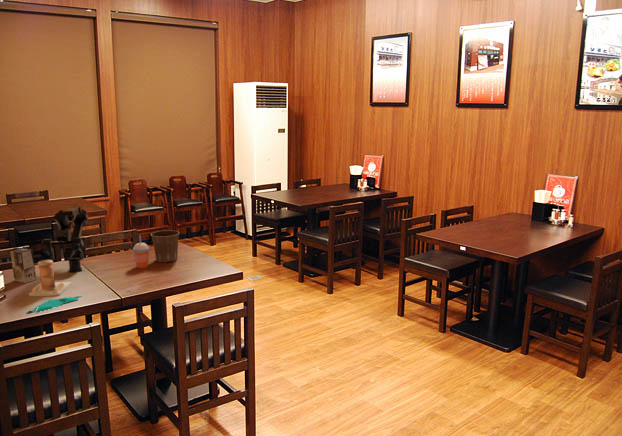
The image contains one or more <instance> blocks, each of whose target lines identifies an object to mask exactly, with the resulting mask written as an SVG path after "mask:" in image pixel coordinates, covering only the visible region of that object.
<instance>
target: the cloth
mask: <svg viewBox="0 0 622 436" xmlns="http://www.w3.org/2000/svg"><path fill="white" fill-rule="evenodd" d="M79 298H83V296H81V295H78V296H69V297H66V296H65V297H61V298H55V299H49V300H47V301H44V302H43V303H41V304H40V305H37V306H36V307H35V308H33V309H32V310H28V311H26V314H25V315H28V314H29V313H30V311H31V312H32V313H36V312H35V311H36V309H37V307H39V308H38V310H37V312H38V313H41V312H40V311H42V312H44V310H46V311H49V310H48V309H50V310H53V309H54V308H53V307H57V308H59V307H60V306H62V305H63V304H66V303H72V302H74V301H79ZM58 306H59V307H58ZM52 308H53V309H52Z"/></svg>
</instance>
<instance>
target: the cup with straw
mask: <svg viewBox="0 0 622 436" xmlns="http://www.w3.org/2000/svg"><path fill="white" fill-rule="evenodd" d="M138 237H139V242H138V243H135V245H134V246H133V248H132V252H133V256H134V262H135V265H136V266H135V267H136V268H138V269H144V268H145V269H146V268H148V266H149V259H150V257H149V256H150V255H149V254H150V253H149V252H150V247H149V246H148V244H146V242H142V235H139V236H138Z"/></svg>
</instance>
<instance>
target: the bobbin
mask: <svg viewBox="0 0 622 436" xmlns="http://www.w3.org/2000/svg"><path fill="white" fill-rule="evenodd" d="M53 264H54V260H52V259H42V260H39V261H37V266H38V269H39V278H40V283H41V287H42V288H41V291H43V292H48V291H53V290H55V289H54V288H55V287H56V286H55V282H56V281H55V274H54V267H53V266H54V265H53Z"/></svg>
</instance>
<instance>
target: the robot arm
mask: <svg viewBox="0 0 622 436" xmlns="http://www.w3.org/2000/svg"><path fill="white" fill-rule="evenodd" d="M53 218H54V220H55V222H56V225H57V226H58V229H56V230H53V237H54V239H55V240H56V241H52V239H51V238H45V239H43V240H42V241H41V245H42V247H43V249H45V250H46V251H47V252H48V253H49V258H50V260H52V258H53V256H54V251H55V249H54V248H55V247H54V246H64V249H63V258H64V261H65V262H68V266H69V268H68V273H75V272H82V271H83V269H82V266H81V261H82V260H84V259H85V257H84V252H83V250H82V249H81V248H84V245H85V243H84V241H83V239H82V232H83V229H84V227H85V226H86V225H87V224H88V222H89V215H88V212H87V211H86V210H84V209H83V207H82V206H80V205H78V206H77V205H76V206H71V207H70V208H69V209H67V210H63V209H60V210H58V212H57V213H55V214H54V216H53Z"/></svg>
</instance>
